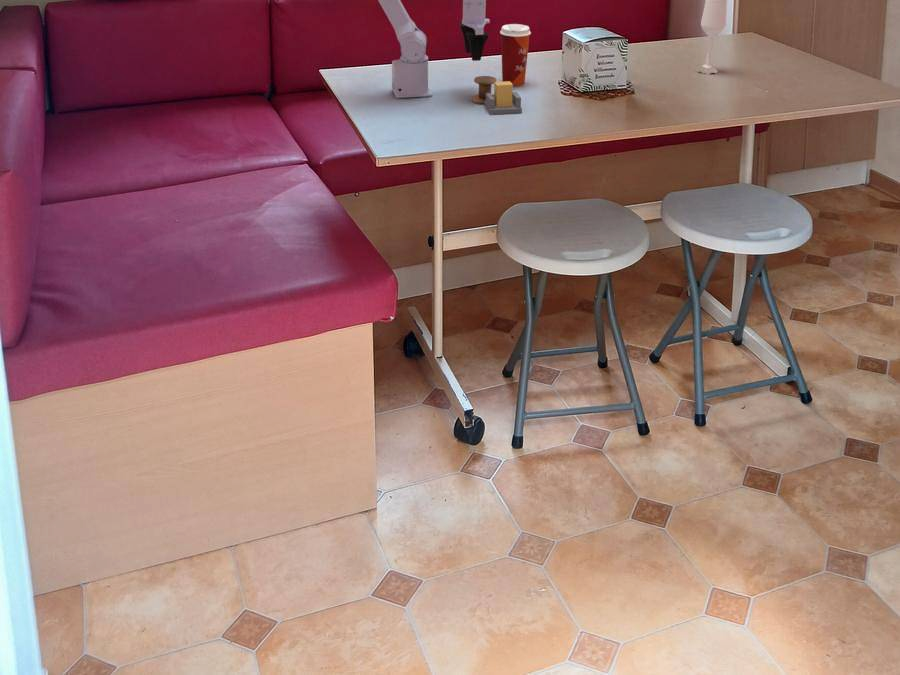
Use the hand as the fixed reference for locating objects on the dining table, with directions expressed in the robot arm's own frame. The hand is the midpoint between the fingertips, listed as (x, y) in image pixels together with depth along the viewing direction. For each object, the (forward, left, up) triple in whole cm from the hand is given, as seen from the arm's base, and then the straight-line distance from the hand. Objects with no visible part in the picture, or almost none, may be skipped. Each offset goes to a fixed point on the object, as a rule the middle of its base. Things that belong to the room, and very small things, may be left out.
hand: (473, 56), depth 268 cm
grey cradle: (+5, -14, -10) cm, 18 cm away
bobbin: (+2, -6, -10) cm, 12 cm away
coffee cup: (+13, +8, -10) cm, 18 cm away
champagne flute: (+70, +11, -10) cm, 72 cm away
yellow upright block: (+5, -14, -9) cm, 17 cm away
